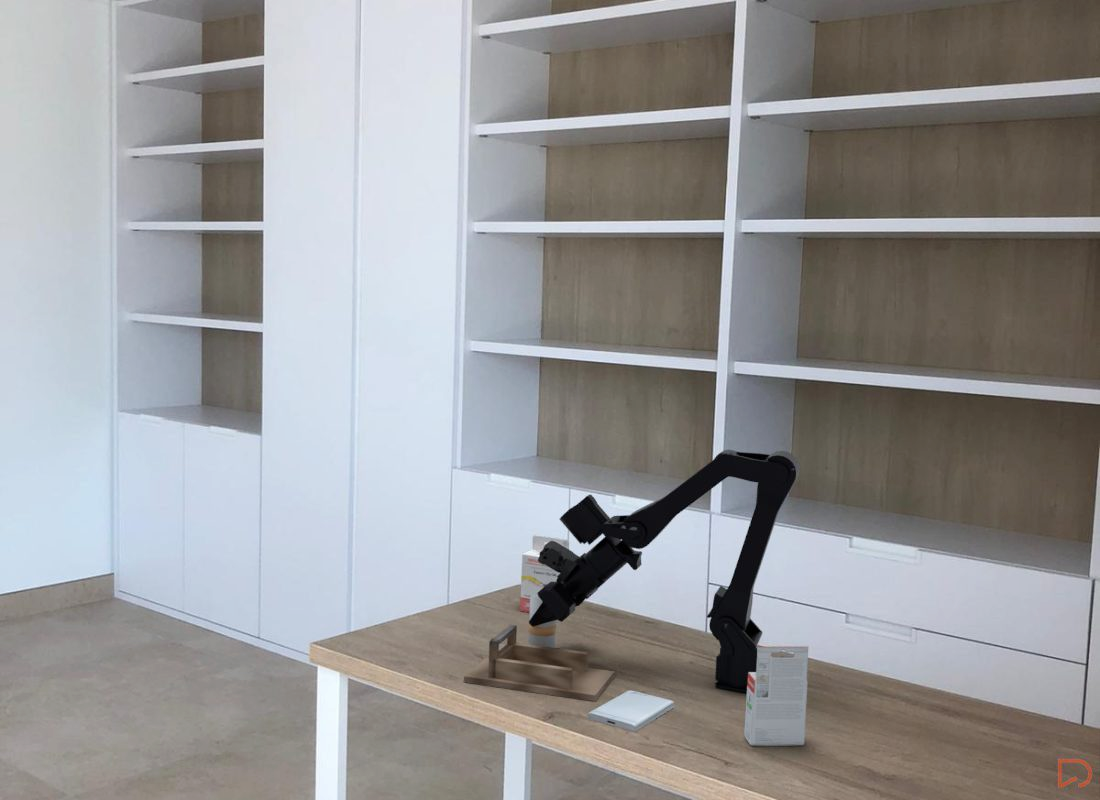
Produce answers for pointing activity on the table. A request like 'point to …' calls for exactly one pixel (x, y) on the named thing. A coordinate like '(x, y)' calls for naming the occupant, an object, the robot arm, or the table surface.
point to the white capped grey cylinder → (541, 627)
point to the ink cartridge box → (536, 570)
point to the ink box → (777, 698)
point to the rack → (539, 669)
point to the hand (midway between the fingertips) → (535, 620)
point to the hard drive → (631, 710)
